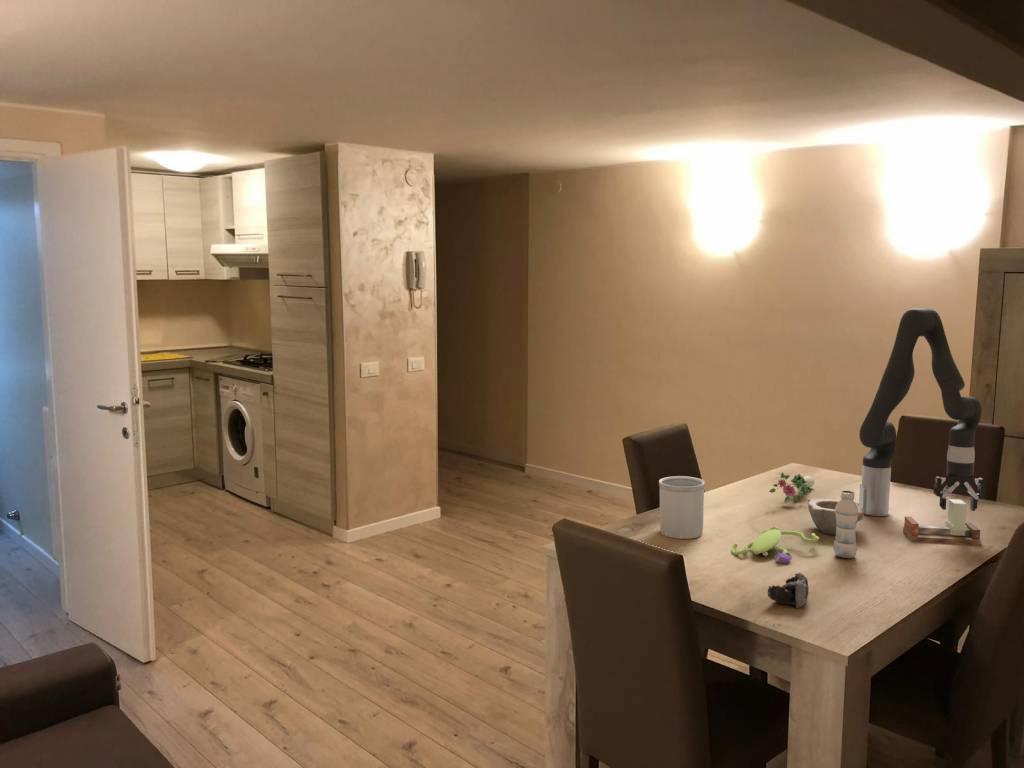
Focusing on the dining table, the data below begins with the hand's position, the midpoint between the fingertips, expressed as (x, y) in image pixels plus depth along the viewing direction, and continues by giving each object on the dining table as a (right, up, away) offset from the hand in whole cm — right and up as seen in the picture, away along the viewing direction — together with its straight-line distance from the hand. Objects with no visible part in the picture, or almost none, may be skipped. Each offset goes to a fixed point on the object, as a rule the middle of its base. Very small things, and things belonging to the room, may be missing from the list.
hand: (958, 509), depth 256 cm
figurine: (-61, -12, -8) cm, 62 cm away
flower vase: (-33, -4, +51) cm, 61 cm away
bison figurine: (-70, -17, -47) cm, 86 cm away
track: (-4, -10, +2) cm, 11 cm away
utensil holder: (-87, -9, +9) cm, 87 cm away
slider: (0, -8, +1) cm, 8 cm away
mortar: (-35, -9, +10) cm, 38 cm away
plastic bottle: (-42, -12, -15) cm, 46 cm away
